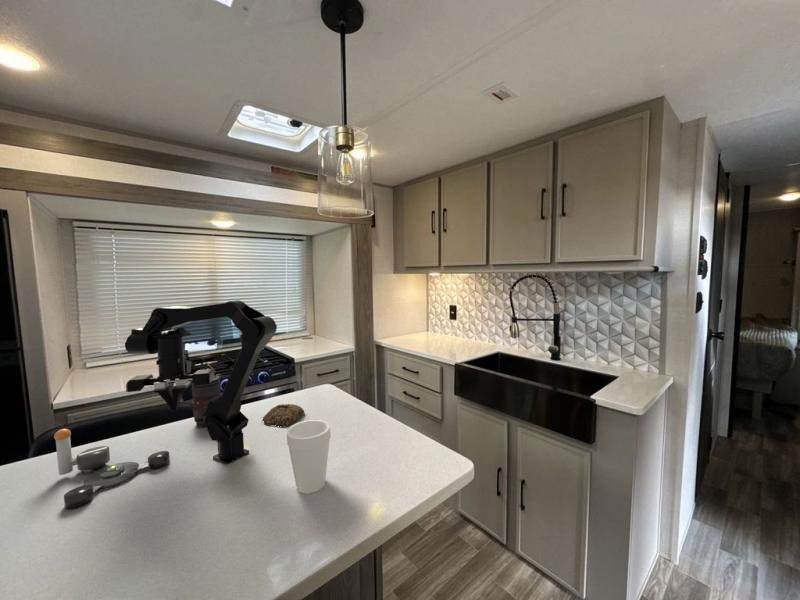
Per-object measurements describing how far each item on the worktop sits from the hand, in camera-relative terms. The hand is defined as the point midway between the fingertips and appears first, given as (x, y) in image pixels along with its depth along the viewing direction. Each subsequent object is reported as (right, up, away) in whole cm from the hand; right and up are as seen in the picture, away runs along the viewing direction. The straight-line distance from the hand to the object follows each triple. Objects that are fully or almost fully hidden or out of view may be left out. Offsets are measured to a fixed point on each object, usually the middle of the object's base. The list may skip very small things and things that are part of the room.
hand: (174, 411), depth 88 cm
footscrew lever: (-18, -12, -6) cm, 22 cm away
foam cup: (+40, -12, -14) cm, 44 cm away
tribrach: (-10, -13, -8) cm, 18 cm away
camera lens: (-3, -11, +20) cm, 23 cm away
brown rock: (+21, -11, +23) cm, 33 cm away
